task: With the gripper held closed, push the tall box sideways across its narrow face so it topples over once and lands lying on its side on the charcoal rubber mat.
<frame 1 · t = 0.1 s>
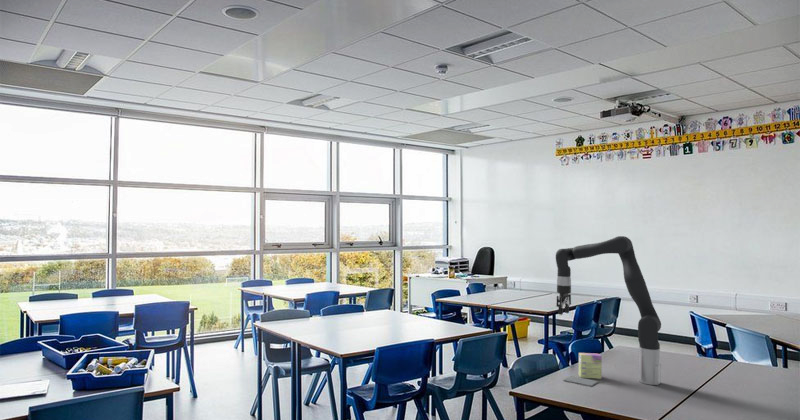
hand: (563, 313, 297), 29 cm above the table, tool pointing down, fingers open, 8 cm apart
mat: (580, 381, 267), on the table
box: (589, 377, 276), on the table
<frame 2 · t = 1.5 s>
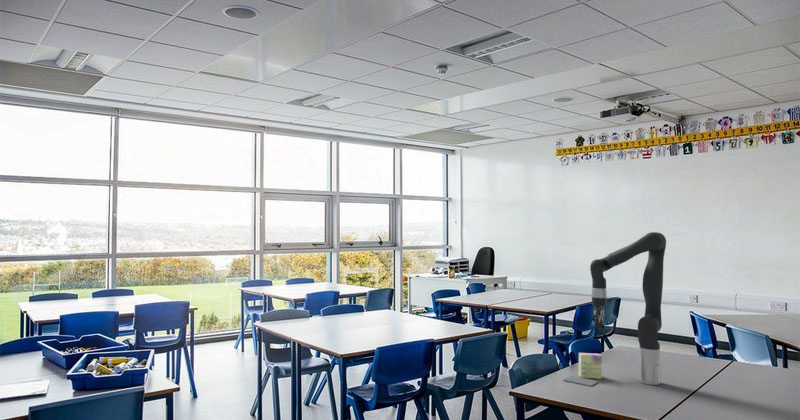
hand: (598, 328, 287), 23 cm above the table, tool pointing down, fingers open, 3 cm apart
nothing on the table moved.
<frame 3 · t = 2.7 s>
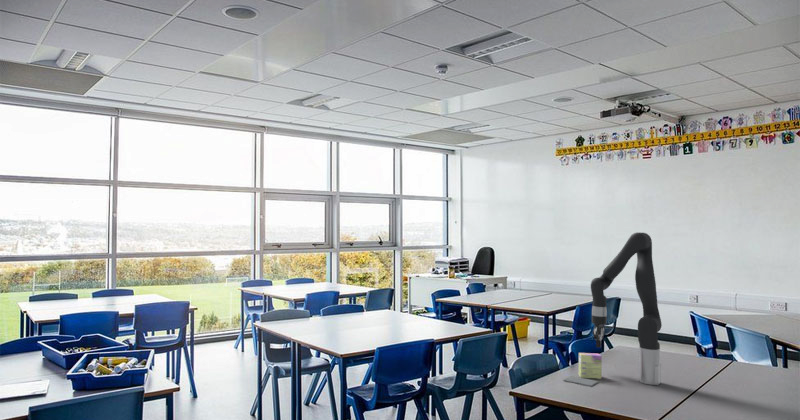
hand: (598, 347, 286), 13 cm above the table, tool pointing down, fingers closed
nothing on the table moved.
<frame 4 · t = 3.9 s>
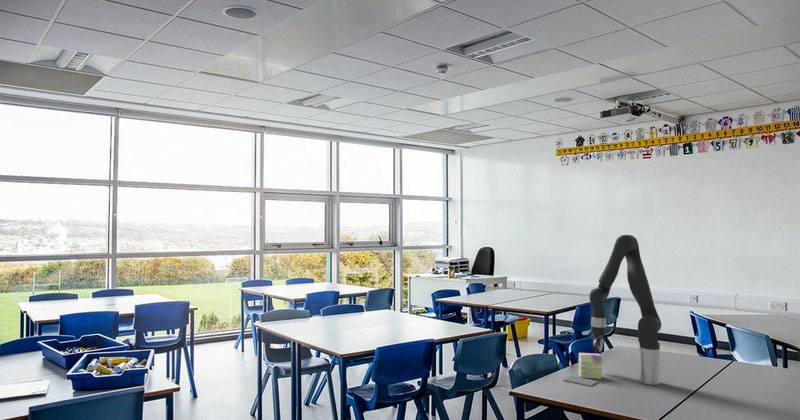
hand: (598, 358, 285), 7 cm above the table, tool pointing down, fingers closed
nothing on the table moved.
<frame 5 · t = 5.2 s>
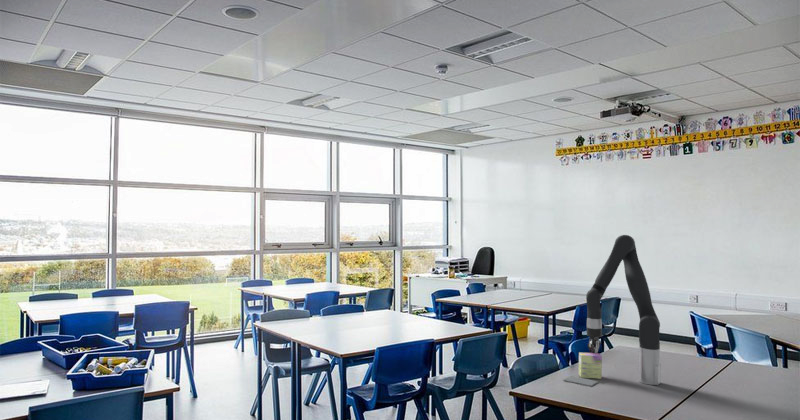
hand: (594, 360, 281), 8 cm above the table, tool pointing down, fingers closed
box: (589, 377, 276), on the table, touching gripper, hand
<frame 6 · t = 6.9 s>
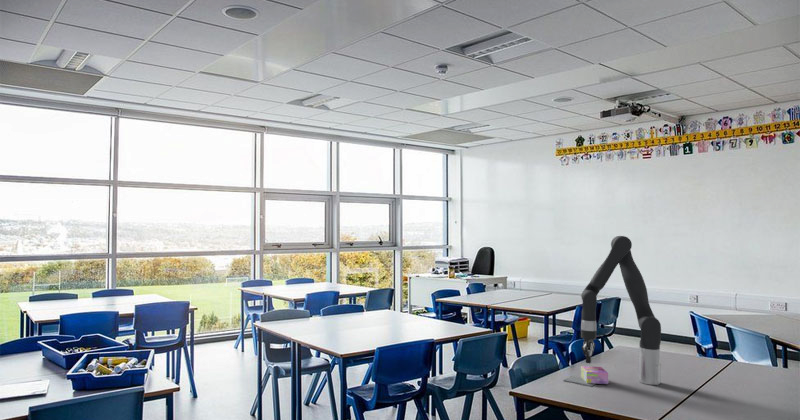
hand: (588, 362, 275), 8 cm above the table, tool pointing down, fingers closed
box: (591, 371, 273), point 3 cm above the table, touching mat
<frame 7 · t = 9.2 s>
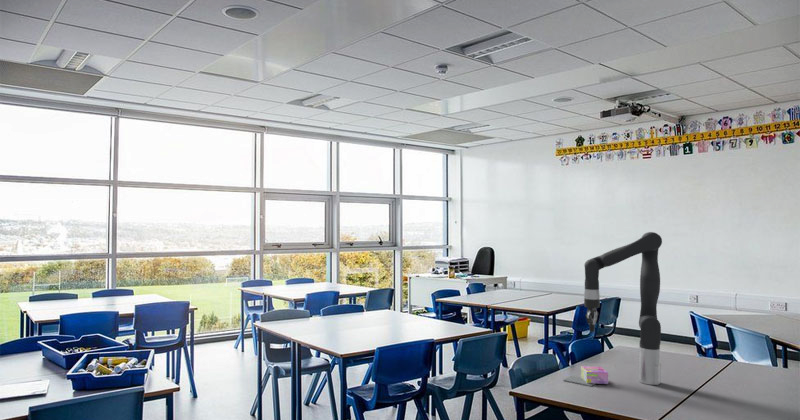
hand: (592, 331, 277), 23 cm above the table, tool pointing down, fingers closed
nothing on the table moved.
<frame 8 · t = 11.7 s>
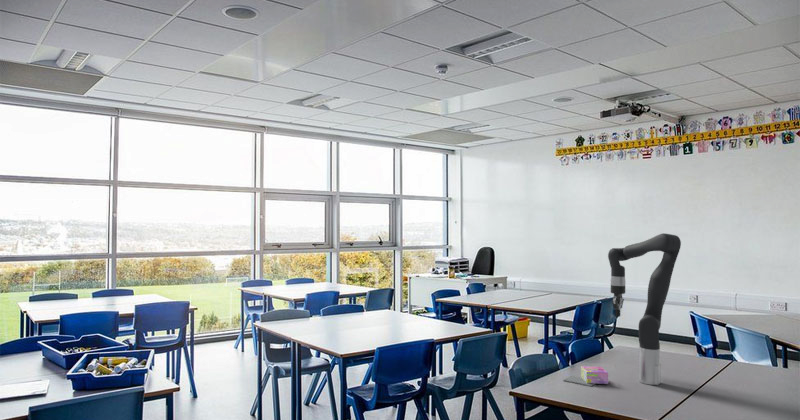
hand: (617, 316, 292), 29 cm above the table, tool pointing down, fingers closed
nothing on the table moved.
at the end: box tilted 90°; box inside the target area (3.4 cm from its centre), point 3.4 cm above the table; box touching mat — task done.
